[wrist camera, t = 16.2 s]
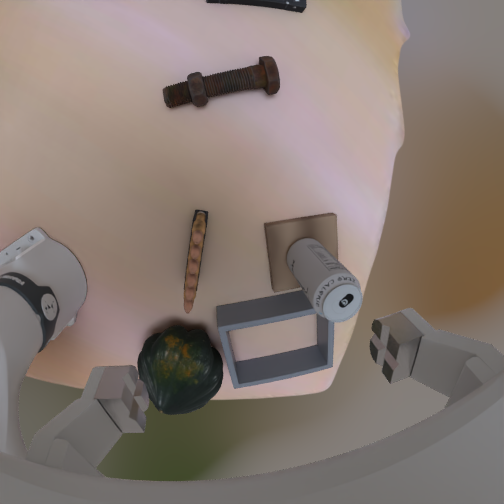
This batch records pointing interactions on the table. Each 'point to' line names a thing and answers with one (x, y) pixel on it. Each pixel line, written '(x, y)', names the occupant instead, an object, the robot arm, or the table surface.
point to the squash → (180, 370)
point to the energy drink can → (324, 280)
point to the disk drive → (268, 3)
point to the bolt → (224, 83)
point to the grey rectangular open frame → (279, 363)
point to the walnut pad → (292, 231)
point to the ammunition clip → (194, 258)
